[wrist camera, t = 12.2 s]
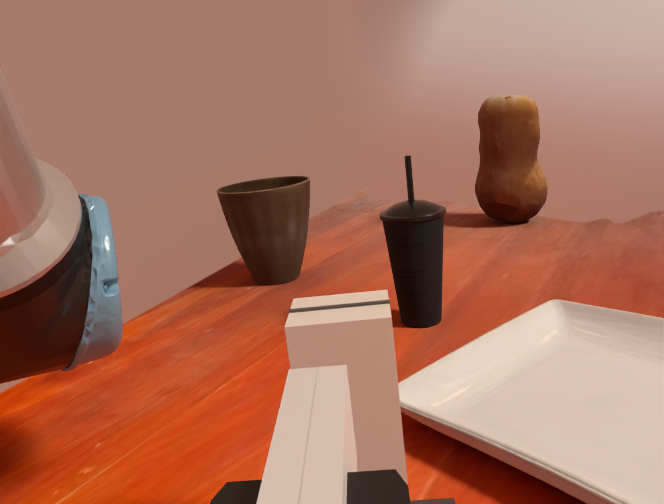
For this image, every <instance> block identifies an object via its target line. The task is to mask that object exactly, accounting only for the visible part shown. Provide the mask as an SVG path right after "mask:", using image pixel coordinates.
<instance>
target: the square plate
mask: <svg viewBox="0 0 664 504" xmlns="http://www.w3.org/2000/svg"><path fill="white" fill-rule="evenodd" d="M398 388H399V398H400V408H401V412H403V413H404V414H406V415H408V416H410V417H411V418H413V419H415V420H417V421H418V422H420V423H422V424H424V425H426V426H428V427H430V428H432V429H434V430H436V431H438V432H441V433H443V434H445V435H447V436H449V437H451V438H454V439H456V440H458V441H460V442H462V443H465V444H467V445H469V446H471V447H473V448H475V449H478V450H480V451H482V452H484V453H486V454H488V455H490V456H492V457H494V458H496V459H498V460H500V461H503V462H505V463H507V464H509V465H511V466H513V467H515V468H517V469H519V470H521V471H523V472H525V473H527V474H529V475H531V476H533V477H536V478H538V479H540V480H542V481H544V482H546V483H548V484H550V485H552V486H554V487H556V488H557V489H559V490H561V491H563V492H565V493H567V494H569V495H571V496H573V497H575V498H577V499H579V500H581V501H583V502H584V503H586V504H664V318H659V317H654V316H648V315H643V314H637V313H632V312H626V311H620V310H615V309H609V308H603V307H597V306H591V305H585V304H580V303H575V302H570V301H564V300H550V301H548V302H545V303H544V304H542V305H540V306H538V307H536V308H534V309H532V310H530V311H528V312H526V313H524V314H522V315H520V316H518V317H516V318H514V319H512V320H510V321H508V322H506V323H504V324H503V325H501V326H499V327H497V328H495V329H493V330H491V331H490V332H488V333H486V334H484V335H482V336H480V337H479V338H477V339H475V340H473V341H471V342H470V343H468V344H466V345H464V346H462V347H461V348H459V349H457V350H455V351H453V352H452V353H450V354H448V355H446V356H444V357H443V358H441V359H439V360H437V361H436V362H434V363H432V364H430V365H429V366H427V367H425V368H423V369H422V370H420V371H418V372H416V373H415V374H413V375H411V376H410V377H408V378H406V379H404V380H403V381H401V382H399V383H398Z"/></svg>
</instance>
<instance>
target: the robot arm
mask: <svg viewBox="0 0 664 504" xmlns="http://www.w3.org/2000/svg"><path fill="white" fill-rule="evenodd" d="M122 332H123V325H122V308H121V298H120V290H119V285H118V274H117V260H116V252H115V245H114V239H113V232H112V225H111V219H110V214H109V210H108V206H107V204H106V202H105V200H104V199H103V198H101V197H99V196H88V195H86V194H77V192H76V190H75V188H74V187H73V185H72V183H71V182H70V180H69V179H68V178H67V177H66V176H65V175H64V174H63V173H61V172H60V171H59V170H58V169H56V168H55V167H53V166H51V165H50V164H48V163H46V162H44V161H41V160H39V159H36V158H35V155H34V153H33V150H32V147H31V145H30V142H29V139H28V137H27V134H26V131H25V129H24V126H23V123H22V121H21V118H20V115H19V113H18V110H17V108H16V105H15V102H14V99H13V97H12V94H11V91H10V89H9V86H8V84H7V81H6V78H5V76H4V73H3V70H2V68H1V65H0V384H1V383H5V382H9V381H13V380H17V379H22V378H26V377H30V376H35V375H39V374H44V373H48V372H53V371H57V370H62V371H67V370H72V369H74V368H75V367H76V366H77V365H80V364H83V363H87V362H90V361H94V360H97V359H101V358H104V357H107V356H108V355H110V354H112V353H113V352H114V351H115V350H116V349H117V348H118V346H119V344H120V342H121V339H122ZM210 504H410V498H409V490H408V485H407V484H406V482H405V481H404V480H403V478H402V477H401V476H400V474H399V473H398V472H397V470H396V469H389V470H374V471H360V472H357V452H356V443H355V434H354V426H353V417H352V408H351V399H350V390H349V381H348V372H347V365H337V366H324V367H312V368H299V369H289V371H288V376H287V380H286V384H285V388H284V392H283V396H282V400H281V404H280V408H279V413H278V417H277V421H276V425H275V429H274V433H273V437H272V441H271V445H270V450H269V454H268V458H267V462H266V466H265V470H264V474H263V478H262V480H251V481H236V482H227V483H226V484H225V485H224V486H223V487H222V489H221V490H220V491H219V492H218V493H217V494H216V495H215V497H214V498H213V499H212V500H211V503H210Z"/></svg>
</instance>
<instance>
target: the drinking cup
mask: <svg viewBox="0 0 664 504" xmlns="http://www.w3.org/2000/svg"><path fill="white" fill-rule="evenodd" d="M405 166H406V178H407V190H408V201H403V202H400V203H397V204H395V205H393V206H391V207H390V208H388V209H387V210H385V211H383V212H381V213H380V219H381V220H382V221H383V226H384V231H385V236H386V242H387V247H388V252H389V257H390V263H391V268H392V273H393V278H394V284H395V289H396V294H397V300H398V305H399V310H400V315H401V321H402V323H403V324H404V325H406V326H408V327H414V328H424V327H430V326H434V325H436V324H438V323H439V322H440V321H441V314H442V268H443V222H444V215H445V213H446V208H445V207H443V206H440V205H437V204H435V203H432V202H429V201H425V200H414V192H413V179H412V168H411V167H412V166H411V156H405Z"/></svg>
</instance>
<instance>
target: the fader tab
mask: <svg viewBox="0 0 664 504" xmlns="http://www.w3.org/2000/svg"><path fill="white" fill-rule="evenodd" d="M285 334H286V341H287V348H288V354H289V361H290V368H291V369H299V368H312V367H324V366H337V365H347V372H348V381H349V390H350V399H351V408H352V417H353V426H354V434H355V443H356V452H357V472H360V471H374V470H389V469H396V470H397V472H398V473H399V474H400V476H401V477H402V478H403V480H404V481H405V482H406V484H407V485H408V481H407V471H406V460H405V450H404V440H403V429H402V419H401V408H400V398H399V388H398V377H397V367H396V357H395V346H394V336H393V326H392V316H391V310H390V304H389V298H388V292H387V290H379V291H369V292H358V293H348V294H338V295H327V296H317V297H307V298H297V299H294V300H293V303H292V306H291V309H289V315H288V318H287V321H286V324H285Z"/></svg>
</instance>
